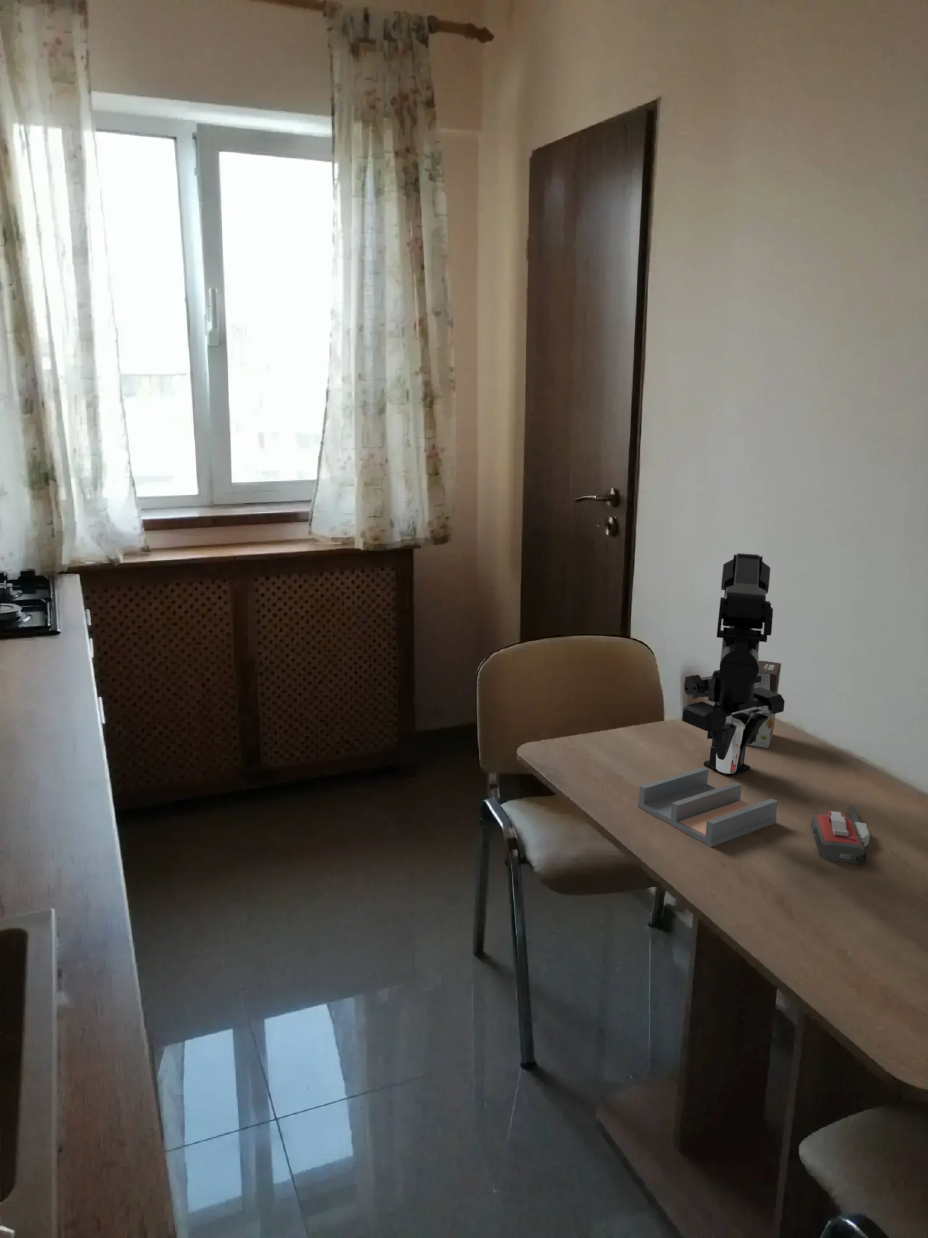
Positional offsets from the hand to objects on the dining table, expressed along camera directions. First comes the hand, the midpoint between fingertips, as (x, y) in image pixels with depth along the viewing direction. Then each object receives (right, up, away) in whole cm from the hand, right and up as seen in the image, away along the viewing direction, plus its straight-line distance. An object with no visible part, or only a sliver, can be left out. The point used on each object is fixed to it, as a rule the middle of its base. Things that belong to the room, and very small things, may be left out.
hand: (729, 756), depth 154 cm
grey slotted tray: (-2, -11, +6) cm, 13 cm away
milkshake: (0, -3, +1) cm, 3 cm away
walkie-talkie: (+18, -14, 0) cm, 23 cm away
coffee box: (+17, -3, +41) cm, 44 cm away
